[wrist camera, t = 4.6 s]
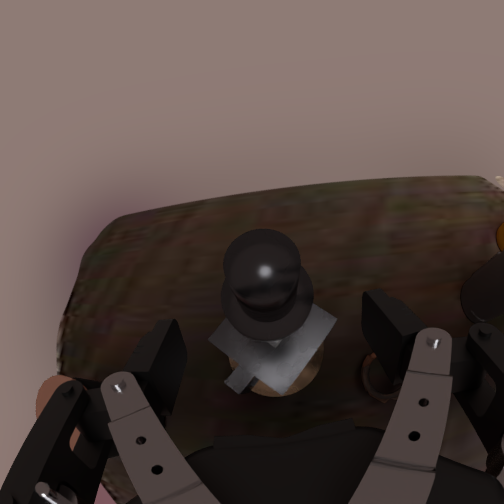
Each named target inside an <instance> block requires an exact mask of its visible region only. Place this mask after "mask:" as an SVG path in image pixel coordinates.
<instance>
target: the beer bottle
mask: <svg viewBox="0 0 504 504" xmlns="http://www.w3.org/2000/svg"><path fill="white" fill-rule="evenodd" d="M496 238H497V243H498V246H499V249H500V250H501V252H502V251H503V250H504V222H503V224H502V225H501V226H500V227H499V229H498V231H497V235H496Z"/></svg>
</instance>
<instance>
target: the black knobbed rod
mask: <svg viewBox="0 0 504 504" xmlns="http://www.w3.org/2000/svg"><path fill="white" fill-rule="evenodd" d="M223 268H224V273H225V277H226V278H225V281H224V283H223V286H222V291H221V303H222V308H223V311H224V314H225V316H226V318H227V319H228V321H229V322H230V323H231V325H232V326H233V327H234V328H235V329H236V330H237V331H238V332H239V333H241V334H242V335H244V336H245V337H248V338H250V339H253V340H256V341H262V342H268V343H269V344H270V345H272V346H273V347H275V348H276V347H277V346H278V344H279V343H280V342H281V340H282V339H284V338H287V337H289V336H290V335H292V334H294V333H295V332H296V331H297V330H299V329H300V328H301V327H302V325H303V324H304V323H305V321H306V320H307V318H308V316H309V314H310V311H311V308H312V304H313V298H314V296H313V286H312V282H311V280H310V277H309V275H308V274H307V272H306V271H305V269H304V268H303V267H302V266H301V260H300V254H299V251H298V249H297V247H296V245H295V244H294V243H293V242H292V240H291V239H290V238H288V237H287V236H286V235H284V234H282V233H280V232H278V231H275V230H271V229H256V230H251V231H248V232H246V233H244V234H242V235H240V236H239V237H238V238H236V239H235V240H234V241H233V242H232V243H231V245H230V246H229V247H228V249H227V251H226V253H225V257H224V262H223Z"/></svg>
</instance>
